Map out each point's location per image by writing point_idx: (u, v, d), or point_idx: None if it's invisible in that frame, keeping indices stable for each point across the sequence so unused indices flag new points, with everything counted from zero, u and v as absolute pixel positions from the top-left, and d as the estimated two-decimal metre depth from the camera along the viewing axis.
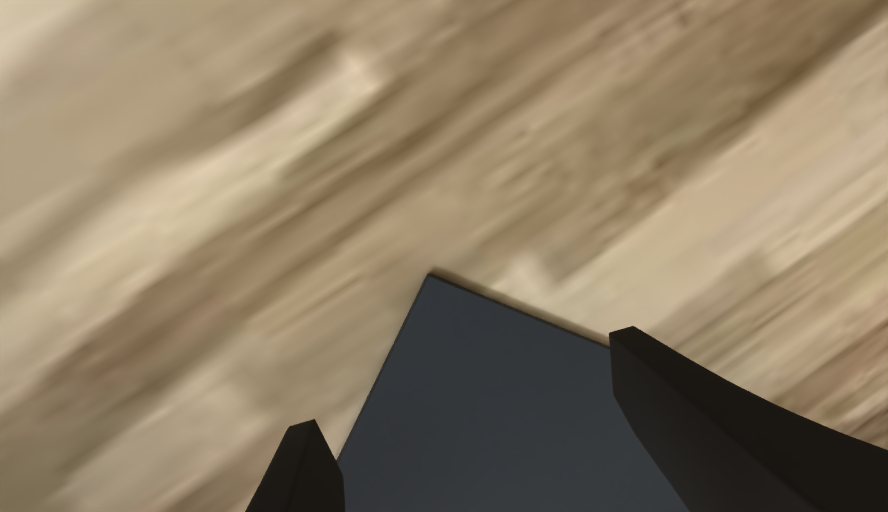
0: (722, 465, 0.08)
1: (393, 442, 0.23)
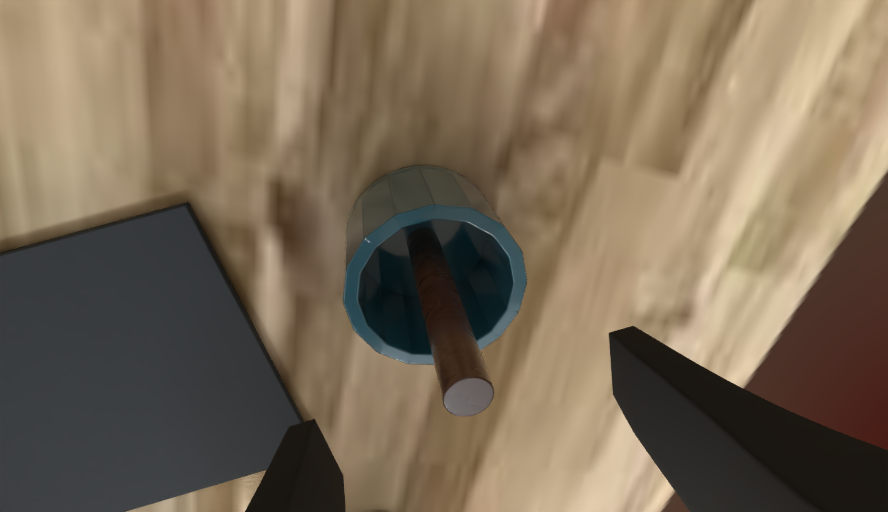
0: (722, 465, 0.08)
1: None
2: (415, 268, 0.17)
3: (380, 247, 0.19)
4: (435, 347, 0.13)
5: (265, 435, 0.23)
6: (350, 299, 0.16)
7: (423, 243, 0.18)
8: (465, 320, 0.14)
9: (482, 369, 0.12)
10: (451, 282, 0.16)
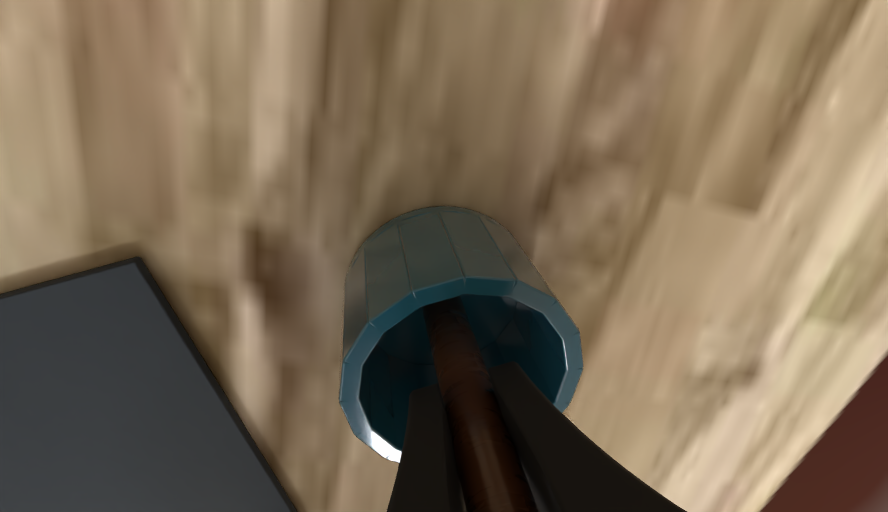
0: None
1: None
2: (434, 347, 0.13)
3: None
4: (471, 499, 0.09)
5: None
6: (349, 396, 0.12)
7: (443, 309, 0.14)
8: (511, 448, 0.10)
9: None
10: (484, 375, 0.12)
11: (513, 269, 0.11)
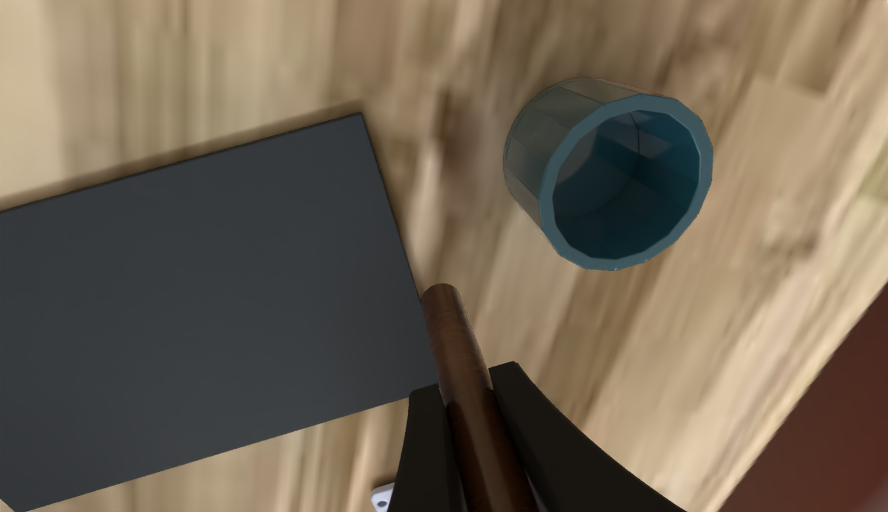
0: None
1: None
2: (434, 346, 0.13)
3: None
4: (472, 498, 0.09)
5: (400, 364, 0.23)
6: (545, 195, 0.16)
7: (443, 308, 0.14)
8: (511, 447, 0.10)
9: None
10: (485, 374, 0.12)
11: None
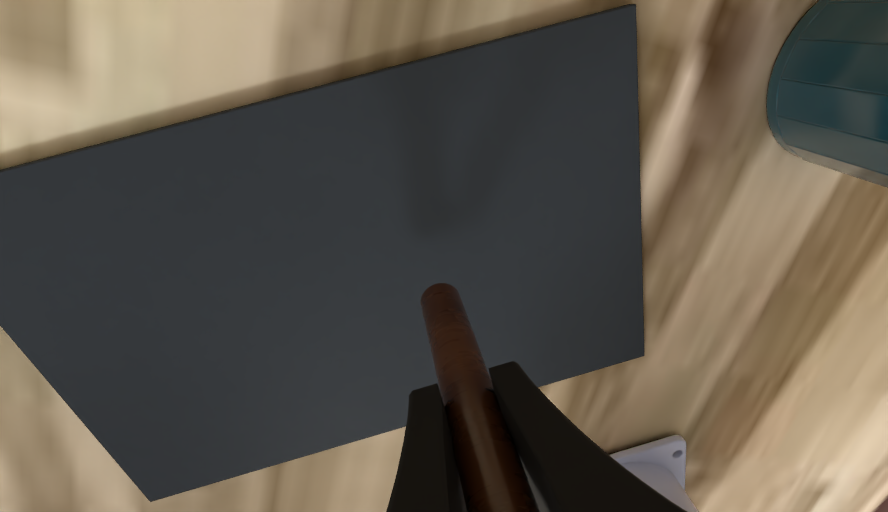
0: None
1: (131, 397, 0.17)
2: (433, 346, 0.13)
3: None
4: (471, 498, 0.09)
5: (603, 328, 0.20)
6: None
7: (442, 308, 0.14)
8: (511, 446, 0.10)
9: None
10: (484, 374, 0.12)
11: None
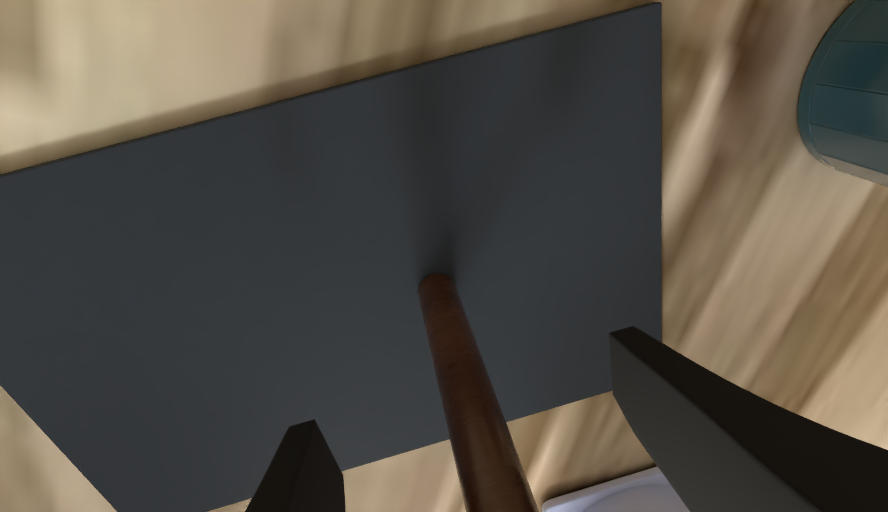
0: (722, 465, 0.08)
1: (114, 425, 0.16)
2: (429, 332, 0.13)
3: None
4: (464, 471, 0.09)
5: None
6: None
7: (438, 297, 0.14)
8: (502, 424, 0.10)
9: None
10: (478, 358, 0.12)
11: None
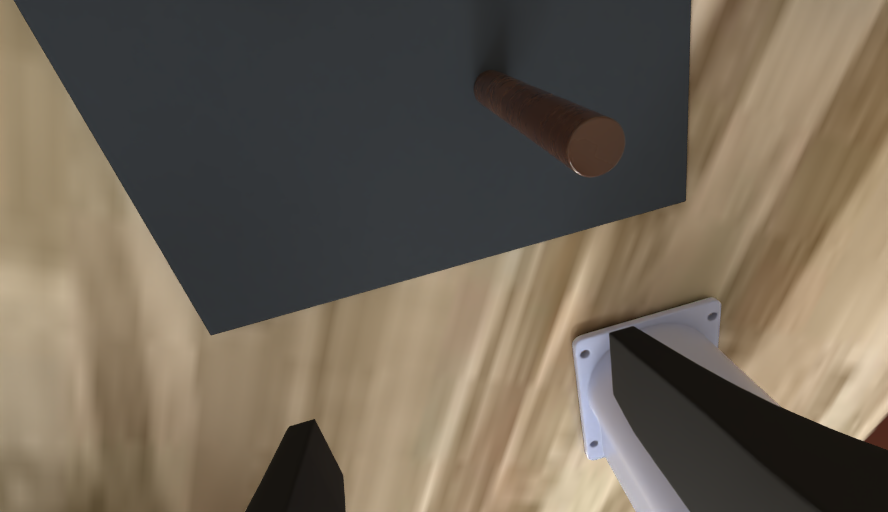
0: (722, 465, 0.08)
1: (200, 212, 0.18)
2: (493, 92, 0.15)
3: None
4: (544, 118, 0.11)
5: (648, 166, 0.20)
6: None
7: (497, 75, 0.16)
8: None
9: None
10: None
11: None
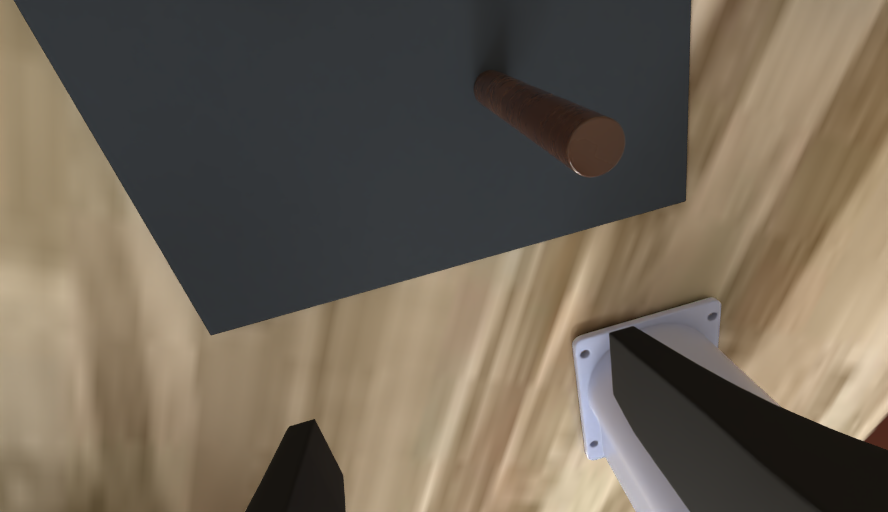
0: (722, 465, 0.08)
1: (200, 212, 0.18)
2: (493, 92, 0.15)
3: None
4: (544, 118, 0.11)
5: (648, 166, 0.20)
6: None
7: (497, 75, 0.16)
8: None
9: None
10: None
11: None
